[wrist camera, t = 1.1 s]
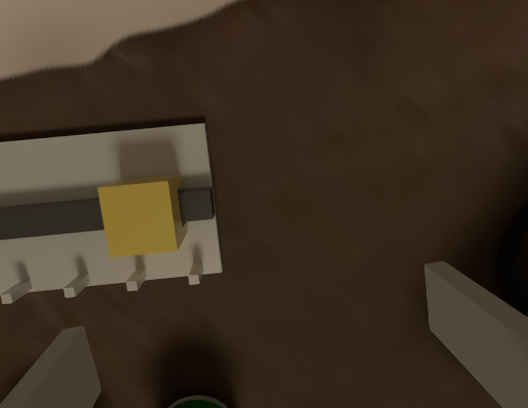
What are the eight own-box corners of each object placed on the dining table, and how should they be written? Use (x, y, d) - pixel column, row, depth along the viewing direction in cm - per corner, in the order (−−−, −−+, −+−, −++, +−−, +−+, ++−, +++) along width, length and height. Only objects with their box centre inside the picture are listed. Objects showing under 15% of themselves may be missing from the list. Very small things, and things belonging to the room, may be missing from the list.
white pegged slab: (205, 123, 34) (199, 122, 29) (222, 268, 36) (219, 288, 32) (-81, 150, 33) (-133, 153, 29) (-45, 295, 36) (-87, 319, 31)
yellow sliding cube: (179, 173, 33) (167, 180, 28) (187, 233, 34) (177, 250, 29) (119, 179, 33) (97, 187, 28) (129, 239, 34) (109, 257, 29)
